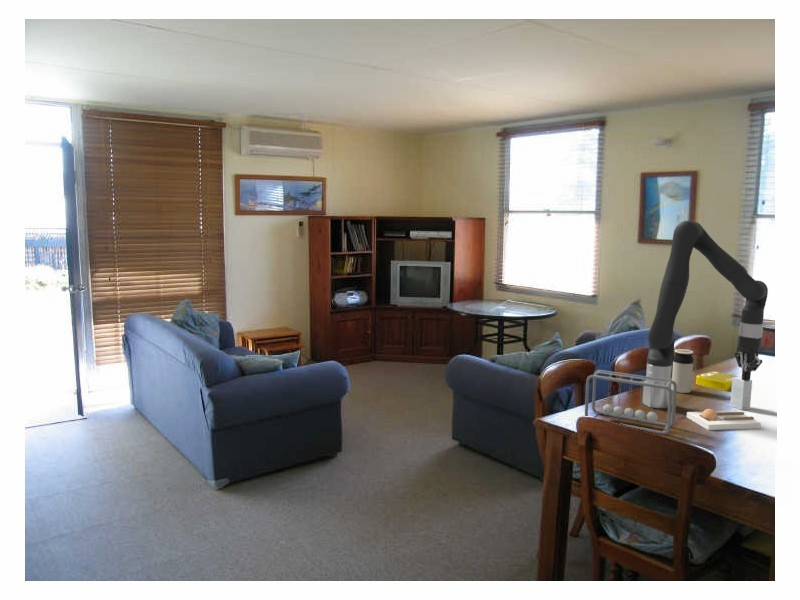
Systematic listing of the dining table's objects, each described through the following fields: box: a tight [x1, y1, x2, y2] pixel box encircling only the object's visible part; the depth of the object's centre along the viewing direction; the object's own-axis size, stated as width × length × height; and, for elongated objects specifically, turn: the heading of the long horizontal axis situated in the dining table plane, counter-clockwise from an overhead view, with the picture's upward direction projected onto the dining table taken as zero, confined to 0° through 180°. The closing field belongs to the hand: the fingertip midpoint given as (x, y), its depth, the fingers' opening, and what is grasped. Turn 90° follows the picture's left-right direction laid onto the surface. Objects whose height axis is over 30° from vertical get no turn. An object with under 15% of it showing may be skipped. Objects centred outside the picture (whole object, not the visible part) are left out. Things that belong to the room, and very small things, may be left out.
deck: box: [686, 410, 761, 431], centre depth 228 cm, size 20×14×3 cm
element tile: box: [695, 370, 739, 392], centre depth 278 cm, size 15×15×5 cm
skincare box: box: [729, 376, 753, 411], centre depth 245 cm, size 6×4×12 cm
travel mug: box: [670, 348, 694, 394], centre depth 267 cm, size 8×8×18 cm
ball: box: [702, 408, 717, 421], centre depth 228 cm, size 5×5×5 cm
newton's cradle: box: [584, 369, 678, 435], centre depth 226 cm, size 30×10×18 cm, turn 57°
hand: (745, 380), depth 227 cm, fingers closed
